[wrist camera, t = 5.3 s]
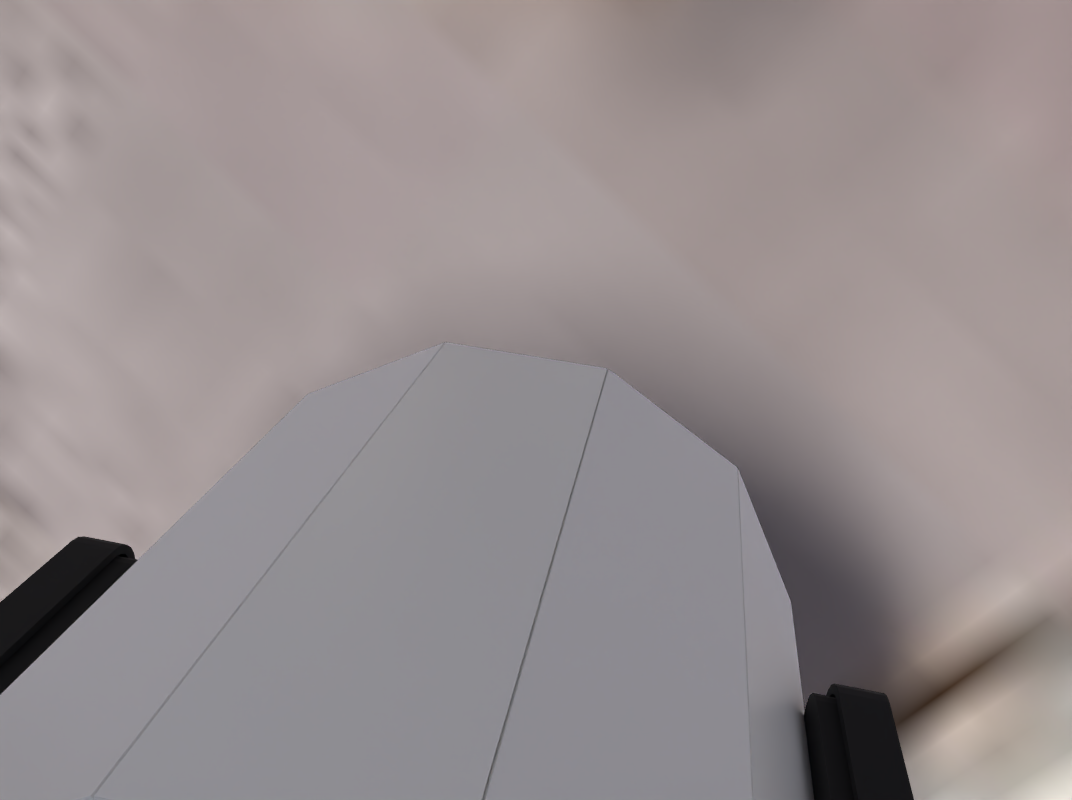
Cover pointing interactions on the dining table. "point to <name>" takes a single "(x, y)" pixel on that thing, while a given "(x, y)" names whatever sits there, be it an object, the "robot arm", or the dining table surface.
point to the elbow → (437, 612)
